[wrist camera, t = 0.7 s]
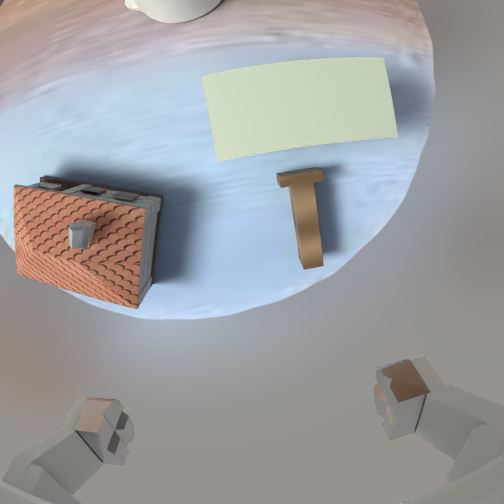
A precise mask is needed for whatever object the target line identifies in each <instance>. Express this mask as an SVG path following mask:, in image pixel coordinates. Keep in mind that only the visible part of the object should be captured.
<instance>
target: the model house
mask: <svg viewBox="0 0 504 504" xmlns="http://www.w3.org/2000/svg"><path fill="white" fill-rule="evenodd" d="M162 201H163V196H159V195H153V194H148V193H142V192H137V191H131V190H125V189H119V188H113V187H107V186H101V185H95V184H89V183H83V182H76V181H70V180H63V179H57V178H50V177H40V182H39V183H36V184H33V185H30V186H22V185H14V234H15V251H16V263H17V272H18V274H19V275H22V276H25V277H28V278H31V279H34V280H37V281H41V282H43V283H46V284H49V285H53V286H56V287H59V288H62V289H65V290H69V291H72V292H75V293H79V294H82V295H86V296H89V297H93V298H96V299H100V300H104V301H107V302H111V303H115V304H119V305H122V306H126V307H130V308H134V309H138V307H139V305H140V304H141V302H142V300H143V298H144V297H145V295H146V293H147V292H148V290H149V289H150V287H151V286H152V284H153V275H154V264H155V255H156V246H157V238H158V230H159V222H160V215H161V207H162Z"/></svg>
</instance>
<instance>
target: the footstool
mask: <svg viewBox="0 0 504 504" xmlns="http://www.w3.org/2000/svg"><path fill="white" fill-rule="evenodd" d="M201 79H202V84H203V90H204V95H205V100H206V105H207V110H208V115H209V120H210V125H211V130H212V135H213V140H214V145H215V150H216V155H217V160H218V162H220V161H225V160H230V159H235V158H240V157H246V156H251V155H257V154H262V153H268V152H274V151H280V150H287V149H294V148H300V147H308V146H315V145H323V144H331V143H340V142H349V141H359V140H370V139H382V138H395V137H398V134H397V127H396V120H395V113H394V107H393V102H392V96H391V91H390V86H389V81H388V76H387V71H386V67H385V62H384V58H383V57H338V58H319V59H305V60H295V61H285V62H277V63H269V64H262V65H255V66H249V67H243V68H237V69H232V70H227V71H222V72H217V73H212V74H207V75H203V76H201Z"/></svg>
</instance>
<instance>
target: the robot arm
mask: <svg viewBox="0 0 504 504" xmlns="http://www.w3.org/2000/svg"><path fill="white" fill-rule="evenodd" d="M220 2H221V0H125V5H126V6H127V8H128V9H131V10H137V11H141V12H143V13H145V14H146V15H147V16H149V17H150V18H152V19H154V20H157V21H160V22H165V23H180V22H186V21H190V20H193V19H196V18H199V17H201V16H203V15H205V14H206V13H208V12H210V11H211V10H212V9H214V8H215V7H216V6H217V5H218V4H219V3H220ZM376 380H377V382H378V384H377V385H376V386H375V387H374V400H375V405H376V409H377V411H378V414H379V415H381V416H382V417H384V423H383V426H384V428H385V431H386V433H387V435H388V438H389V440H393V439H396V438H399V437H403V436H406V435H408V434H412V433H415V434H416V435H417V436H419V437H420V438H422V439H423V440H425V441H426V442H428V443H429V444H431V445H432V446H434V447H435V448H437V449H439V450H440V451H442V452H443V453H445V454H446V455H448V456H449V457H451V458H453V459H454V460H455V461H454V463H453V465H452V467H451V468H450V470H449V471H448V473H447V475H446V479H447V481H448V483H449V484H447V485H444V486H442V487H440V488H438V489H436V490H433V491H431V492H429V493H426V494H424V495H421V496H418V497H416V498H413V499H411V500H408V501H405V502H403V503H400V504H504V406H502V405H500V404H497V403H494V402H491V401H489V400H487V399H484V398H481V397H479V396H476V395H474V394H471V393H469V392H466V391H464V390H462V389H459V388H456V387H454V386H451V385H449V386H446V385H445V384H444V382H443V381H442V380H441V378H440V377H439V375H438V374H437V372H436V371H435V370H434V368H433V367H432V366H431V364H430V363H429V361H428V360H427V359H426V357H425V356H424V355H422V354H420V355H418V356H415V357H411V358H408V359H405V360H402V361H399V362H395V363H392V364H389V365H385V366H382V367H378V368H377V370H376ZM122 410H123V406H122V404H121V403H120V401H119V400H116V399H104V398H103V399H102V398H88V397H80V398H78V399H77V401H76V402H75V404H74V406H73V408H72V409H71V411H70V413H69V415H68V417H67V418H66V420H65V422H64V424H63V426H62V427H61V428H57V429H55V430H54V431H53V432H51V433H50V434H48V435H47V436H45V437H44V438H42V439H41V440H39V441H38V442H36V443H35V444H33V445H32V446H30V447H29V448H27V449H25V450H24V451H23V452H21V453H19V454H18V455H16V456H15V457H14V459H13V461H12V463H11V464H10V466H9V468H8V470H7V472H6V474H5V476H4V477H3V479H2V481H1V480H0V504H81V502H80V501H78V500H77V499H76V498H75V497H74V496H72V495H73V494H74V493H75V492H76V491H77V490H78V489H79V488H80V487H81V486H82V485H83V484H84V483H85V482H86V481H87V480H88V479H89V478H90V477H91V476H92V475H93V474H94V473H95V472H96V471H97V470H98V469H99V468H100V467H101V466H102V465H103V463H106V464H114V465H124V464H125V460H126V457H127V454H128V448H127V446H126V445H128V444H129V443H130V442H131V441H132V439H133V436H134V426H133V423H132V420H131V419H130V417H129V416H128V415H127V414H125V413H124V412H123V411H122Z"/></svg>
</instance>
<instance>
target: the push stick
mask: <svg viewBox="0 0 504 504" xmlns="http://www.w3.org/2000/svg"><path fill="white" fill-rule="evenodd" d="M276 175H277V180H278V184H279V185H280V187H281V188H282V187H288V186H289V192H290V198H291V205H292V211H293V218H294V224H295V231H296V238H297V245H298V252H299V259H300V261H301V264H302V266H303V268H304V269H310V268H315V267H320V266H324V265H323V255H322V246H321V237H320V228H319V220H318V212H317V205H316V197H315V190H314V182H320V181H324V178H323V171H322V170H320V169H318V168H309V169H302V170H295V171H289V172H283V173H277V174H276Z"/></svg>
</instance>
